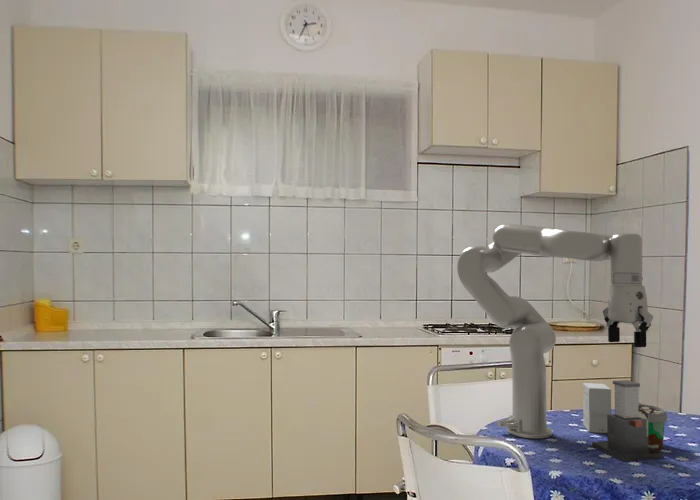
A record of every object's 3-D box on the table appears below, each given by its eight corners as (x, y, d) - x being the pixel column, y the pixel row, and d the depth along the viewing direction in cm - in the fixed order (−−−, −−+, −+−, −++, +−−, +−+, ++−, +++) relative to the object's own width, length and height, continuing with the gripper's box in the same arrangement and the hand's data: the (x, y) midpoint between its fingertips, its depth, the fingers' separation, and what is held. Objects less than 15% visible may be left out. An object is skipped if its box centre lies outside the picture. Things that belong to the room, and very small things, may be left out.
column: (625, 449, 146) (624, 384, 146) (613, 444, 150) (612, 380, 151) (640, 448, 147) (639, 383, 147) (628, 443, 151) (627, 380, 152)
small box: (612, 433, 165) (611, 389, 165) (589, 432, 166) (588, 388, 166) (604, 426, 172) (604, 383, 173) (582, 424, 174) (582, 382, 174)
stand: (623, 461, 141) (622, 424, 141) (592, 446, 153) (592, 412, 153) (663, 457, 144) (663, 421, 144) (630, 443, 155) (629, 409, 156)
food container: (675, 454, 147) (674, 415, 147) (649, 452, 148) (649, 414, 148) (659, 440, 159) (658, 404, 159) (635, 438, 160) (635, 403, 160)
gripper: (663, 280, 142) (663, 348, 142) (615, 279, 159) (616, 339, 158) (638, 280, 140) (638, 349, 140) (592, 279, 157) (593, 340, 157)
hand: (626, 344), depth 149 cm, fingers open, 9 cm apart
